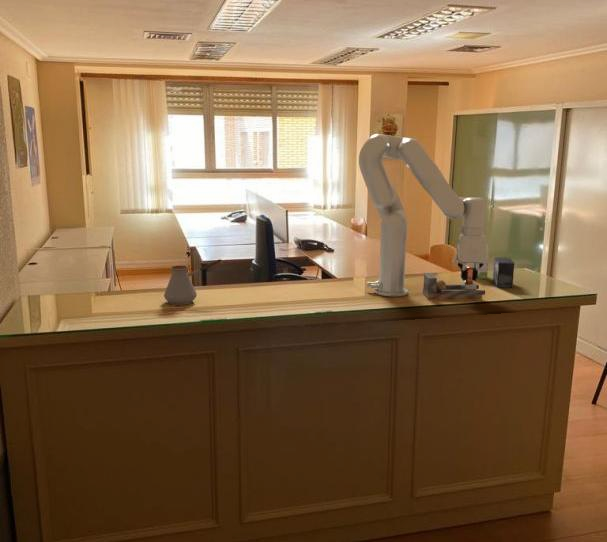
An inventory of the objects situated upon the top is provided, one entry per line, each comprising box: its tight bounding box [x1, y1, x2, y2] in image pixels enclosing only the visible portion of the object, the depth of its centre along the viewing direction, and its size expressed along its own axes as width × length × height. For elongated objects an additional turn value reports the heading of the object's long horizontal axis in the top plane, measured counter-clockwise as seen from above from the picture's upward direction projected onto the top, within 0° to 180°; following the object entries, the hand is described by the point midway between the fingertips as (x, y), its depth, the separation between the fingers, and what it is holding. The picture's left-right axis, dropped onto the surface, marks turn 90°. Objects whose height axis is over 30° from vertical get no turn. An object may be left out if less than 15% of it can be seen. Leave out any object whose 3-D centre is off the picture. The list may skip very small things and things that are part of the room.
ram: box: [460, 266, 477, 290], centre depth 222 cm, size 4×6×9 cm, turn 0°
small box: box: [492, 256, 516, 289], centre depth 240 cm, size 11×6×10 cm, turn 172°
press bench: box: [422, 272, 486, 301], centre depth 222 cm, size 21×9×8 cm, turn 90°
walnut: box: [436, 279, 446, 292], centre depth 222 cm, size 4×4×4 cm
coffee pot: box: [163, 258, 224, 306], centre depth 213 cm, size 21×12×15 cm, turn 108°
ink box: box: [466, 243, 490, 279], centre depth 252 cm, size 9×5×15 cm, turn 84°
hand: (468, 279), depth 222 cm, fingers closed on ram, 3 cm apart
